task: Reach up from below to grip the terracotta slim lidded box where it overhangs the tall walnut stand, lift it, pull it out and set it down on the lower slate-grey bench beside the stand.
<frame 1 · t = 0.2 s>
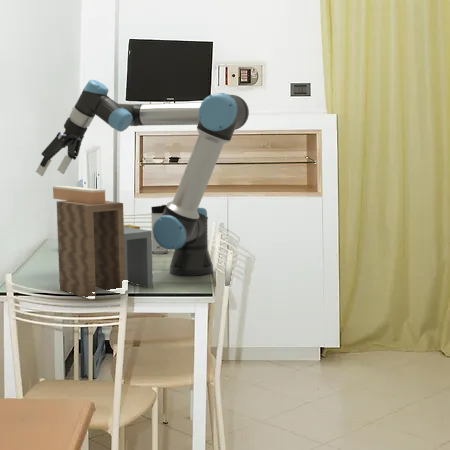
hand: (50, 172, 266), 35 cm above the table, tool tilted 35°, fingers open, 13 cm apart
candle: (125, 250, 321), on the table
grey bench: (123, 284, 246), on the table
slim box: (78, 200, 237), point 28 cm above the table, touching walnut stand
walnut stand: (92, 291, 235), on the table
travel mug: (160, 253, 310), on the table
coffee box: (72, 250, 321), on the table
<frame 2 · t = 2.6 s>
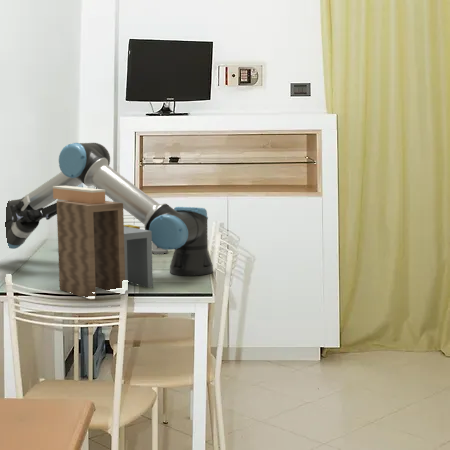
hand: (47, 197, 254), 28 cm above the table, tool pointing upward, fingers open, 13 cm apart
nothing on the table moved.
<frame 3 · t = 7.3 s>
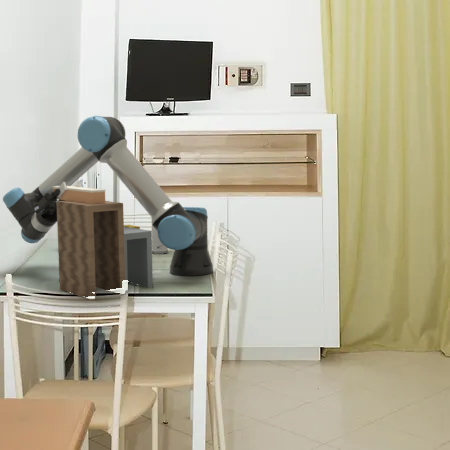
hand: (72, 185, 239), 33 cm above the table, tool pointing upward, fingers closed on slim box, 5 cm apart
slim box: (78, 200, 237), point 28 cm above the table, touching gripper, walnut stand
everything else where it was.
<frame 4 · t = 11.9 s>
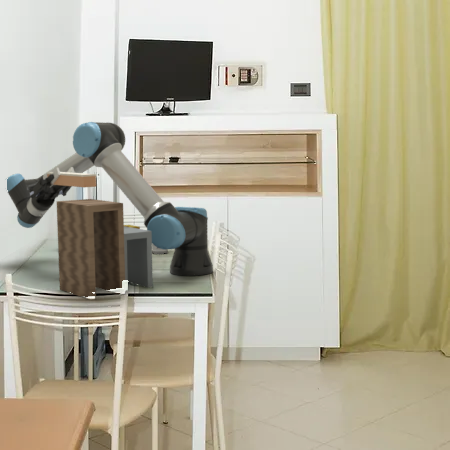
hand: (65, 170, 253), 37 cm above the table, tool pointing upward, fingers closed on slim box, 5 cm apart
slim box: (71, 185, 251), point 32 cm above the table, touching gripper
everything else where it was.
when the fingers open (25 cm above the table, at t = 16.3 s): slim box drops 2 cm, resting on grey bench.
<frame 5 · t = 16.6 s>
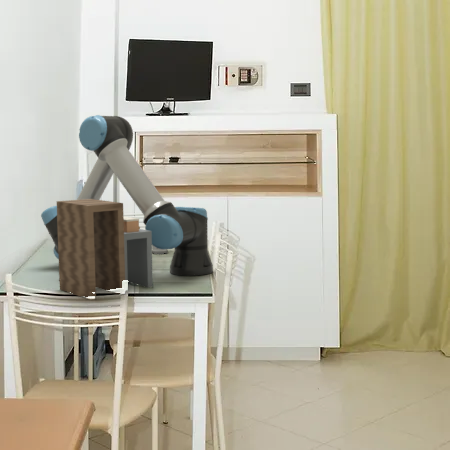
hand: (105, 208, 251), 24 cm above the table, tool pointing upward, fingers open, 9 cm apart
slim box: (112, 228, 248), point 18 cm above the table, touching grey bench
everything else where it was.
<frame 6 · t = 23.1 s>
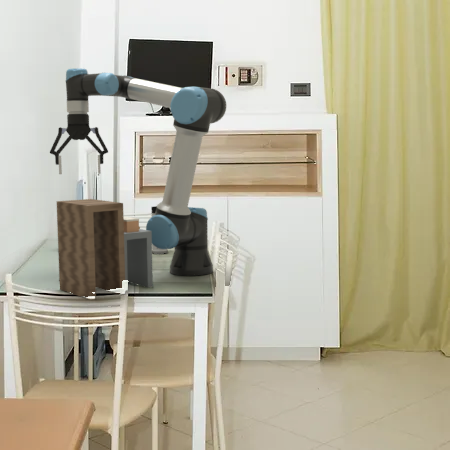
hand: (80, 173, 269), 35 cm above the table, tool pointing down, fingers open, 13 cm apart
nothing on the table moved.
at the end: slim box inside the target area on the grey bench (0.1 cm from its centre), point 18.0 cm above the grey bench's base; the gripper is holding nothing; slim box tilted 0° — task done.
